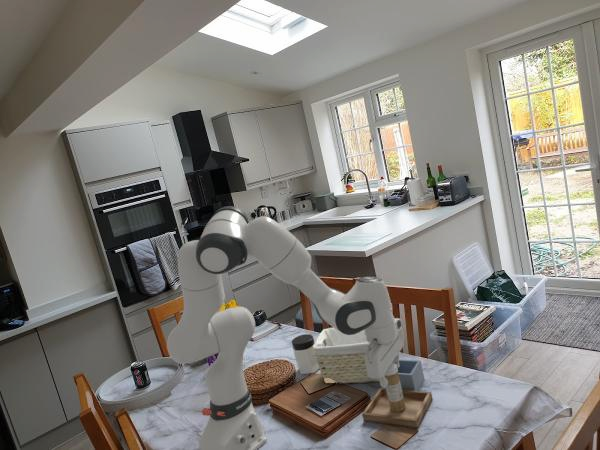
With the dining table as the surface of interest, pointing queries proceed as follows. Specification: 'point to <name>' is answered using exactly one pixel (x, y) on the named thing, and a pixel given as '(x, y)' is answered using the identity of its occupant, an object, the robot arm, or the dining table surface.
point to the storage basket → (342, 356)
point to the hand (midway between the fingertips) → (390, 376)
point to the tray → (408, 417)
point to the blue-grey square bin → (410, 374)
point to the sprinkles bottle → (394, 389)
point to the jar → (305, 354)
